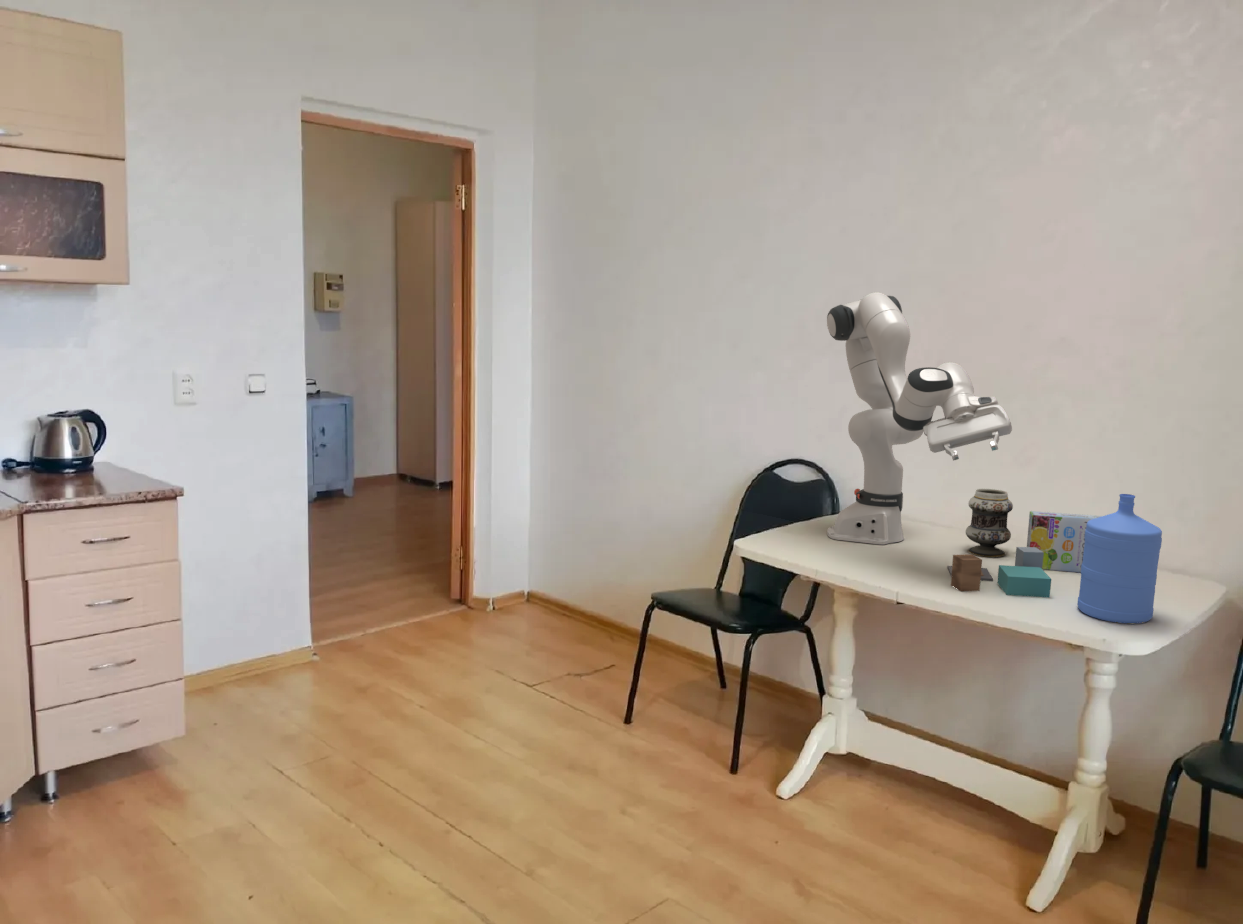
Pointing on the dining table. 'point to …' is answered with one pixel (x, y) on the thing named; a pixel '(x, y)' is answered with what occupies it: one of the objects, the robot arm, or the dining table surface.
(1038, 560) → the slate grey block
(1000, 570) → the teal base block
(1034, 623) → the dining table surface
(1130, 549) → the water jug
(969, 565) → the walnut block
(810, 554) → the dining table surface
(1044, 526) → the snack box
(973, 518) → the apothecary jar
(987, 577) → the card
